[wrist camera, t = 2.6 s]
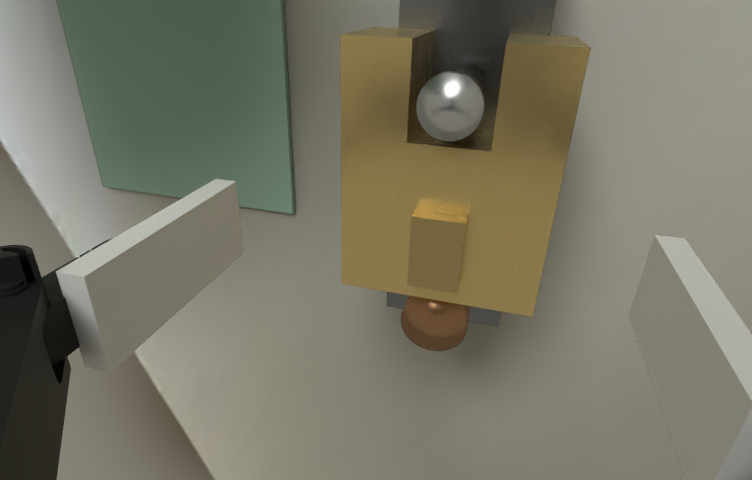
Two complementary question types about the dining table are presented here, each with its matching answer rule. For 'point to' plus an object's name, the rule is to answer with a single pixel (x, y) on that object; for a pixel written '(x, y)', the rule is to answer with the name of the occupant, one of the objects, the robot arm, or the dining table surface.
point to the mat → (186, 95)
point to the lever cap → (453, 171)
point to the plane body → (461, 116)
